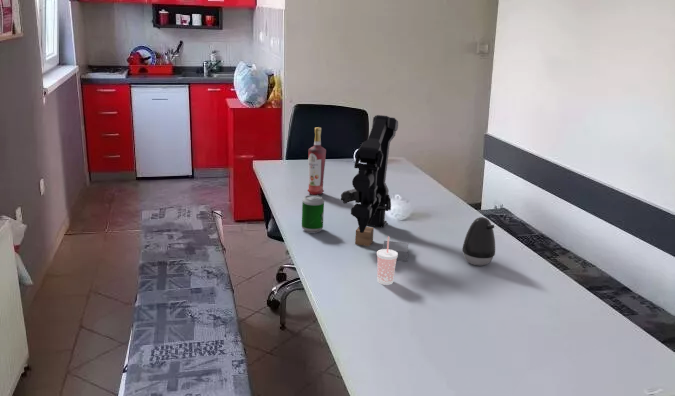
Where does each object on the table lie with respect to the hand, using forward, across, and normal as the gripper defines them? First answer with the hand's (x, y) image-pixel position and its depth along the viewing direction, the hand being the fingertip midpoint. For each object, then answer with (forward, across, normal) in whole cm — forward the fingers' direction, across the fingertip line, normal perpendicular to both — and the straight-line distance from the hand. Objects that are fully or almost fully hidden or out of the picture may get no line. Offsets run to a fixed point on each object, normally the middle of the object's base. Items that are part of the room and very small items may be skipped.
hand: (364, 228), depth 212 cm
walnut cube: (+5, 0, 0) cm, 5 cm away
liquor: (+6, -47, -32) cm, 57 cm away
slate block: (+6, +7, +12) cm, 15 cm away
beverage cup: (+5, +28, +13) cm, 31 cm away
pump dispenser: (+5, +3, +38) cm, 39 cm away
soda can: (+5, -5, -20) cm, 21 cm away
